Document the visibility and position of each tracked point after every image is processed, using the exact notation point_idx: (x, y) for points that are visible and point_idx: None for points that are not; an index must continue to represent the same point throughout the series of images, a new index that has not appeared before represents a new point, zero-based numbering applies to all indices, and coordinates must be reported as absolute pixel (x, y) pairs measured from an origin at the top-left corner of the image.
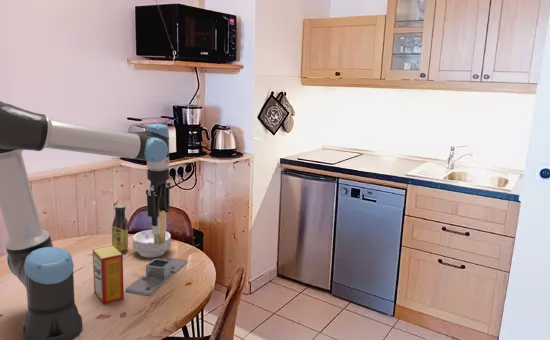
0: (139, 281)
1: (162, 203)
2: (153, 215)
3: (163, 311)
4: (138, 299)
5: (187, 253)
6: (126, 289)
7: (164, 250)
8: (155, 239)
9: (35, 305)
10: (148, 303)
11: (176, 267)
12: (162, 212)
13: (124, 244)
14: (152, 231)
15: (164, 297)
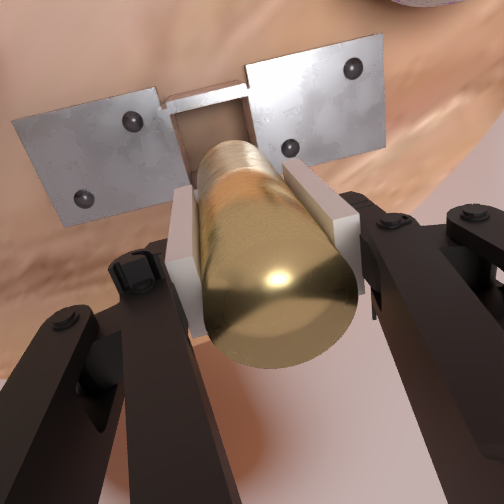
0: (103, 119)
1: (403, 358)
2: (79, 394)
3: (34, 322)
4: (19, 209)
5: (471, 76)
6: (13, 125)
7: (407, 4)
8: (197, 186)
9: None
10: (29, 256)
11: (301, 158)
12: (262, 363)
13: None
14: (175, 198)
15: (98, 268)
